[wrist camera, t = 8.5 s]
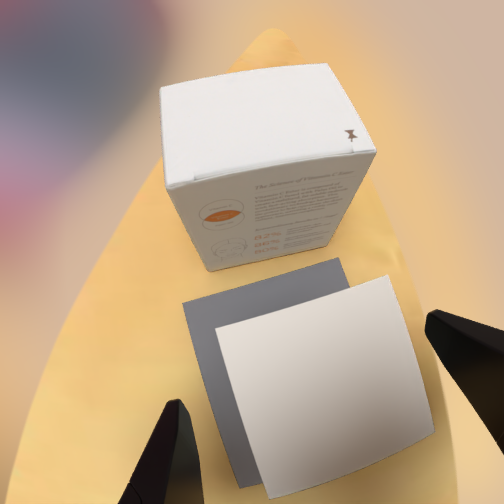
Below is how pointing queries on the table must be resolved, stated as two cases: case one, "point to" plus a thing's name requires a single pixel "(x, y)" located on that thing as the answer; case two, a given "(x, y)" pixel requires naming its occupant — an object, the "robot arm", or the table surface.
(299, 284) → the felt coaster
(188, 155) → the small box
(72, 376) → the table surface
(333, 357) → the tea tin
